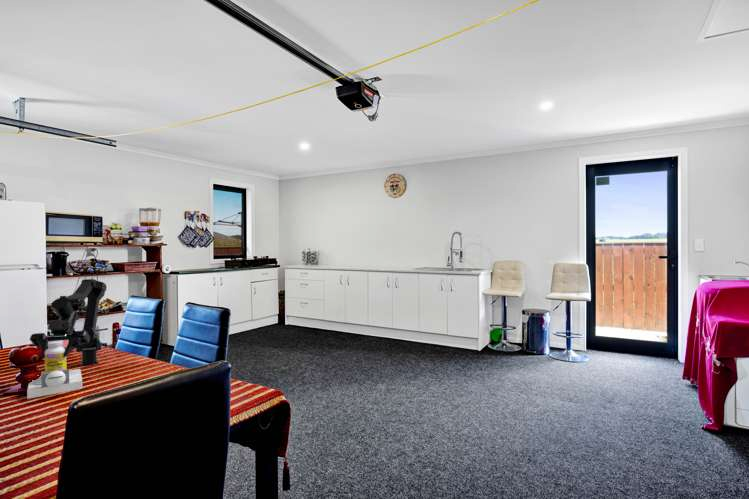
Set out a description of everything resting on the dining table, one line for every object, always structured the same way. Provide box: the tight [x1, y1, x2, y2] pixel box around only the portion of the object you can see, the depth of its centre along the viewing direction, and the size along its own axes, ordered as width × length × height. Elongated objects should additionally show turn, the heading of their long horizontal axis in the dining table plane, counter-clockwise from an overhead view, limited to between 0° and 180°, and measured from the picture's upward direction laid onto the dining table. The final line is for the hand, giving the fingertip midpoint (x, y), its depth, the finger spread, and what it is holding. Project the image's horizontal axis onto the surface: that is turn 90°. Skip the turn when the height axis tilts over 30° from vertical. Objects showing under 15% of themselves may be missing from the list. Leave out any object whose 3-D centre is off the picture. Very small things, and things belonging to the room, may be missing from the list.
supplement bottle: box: [44, 341, 68, 373], centre depth 157 cm, size 7×7×13 cm
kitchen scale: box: [26, 368, 83, 400], centre depth 156 cm, size 21×16×8 cm
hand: (54, 357), depth 156 cm, fingers closed on supplement bottle, 7 cm apart
